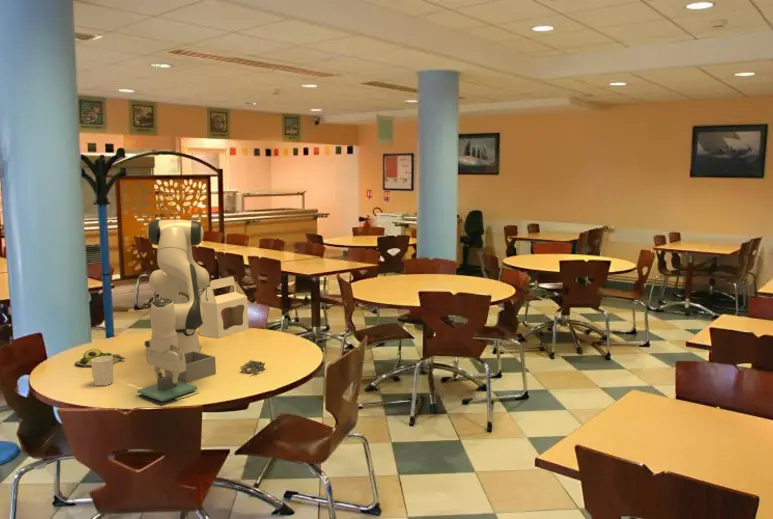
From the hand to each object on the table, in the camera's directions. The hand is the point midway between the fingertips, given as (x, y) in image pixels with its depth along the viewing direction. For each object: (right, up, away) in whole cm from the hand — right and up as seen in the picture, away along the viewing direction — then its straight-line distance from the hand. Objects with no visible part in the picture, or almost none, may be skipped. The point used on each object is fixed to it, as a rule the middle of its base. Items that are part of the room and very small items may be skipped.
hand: (166, 380), depth 238 cm
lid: (0, -5, +1) cm, 5 cm away
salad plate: (-45, -1, +44) cm, 63 cm away
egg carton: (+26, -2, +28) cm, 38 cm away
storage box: (+2, -3, +21) cm, 22 cm away
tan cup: (-30, -4, +15) cm, 33 cm away
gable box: (-2, +7, +94) cm, 94 cm away
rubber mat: (0, -6, +1) cm, 6 cm away
